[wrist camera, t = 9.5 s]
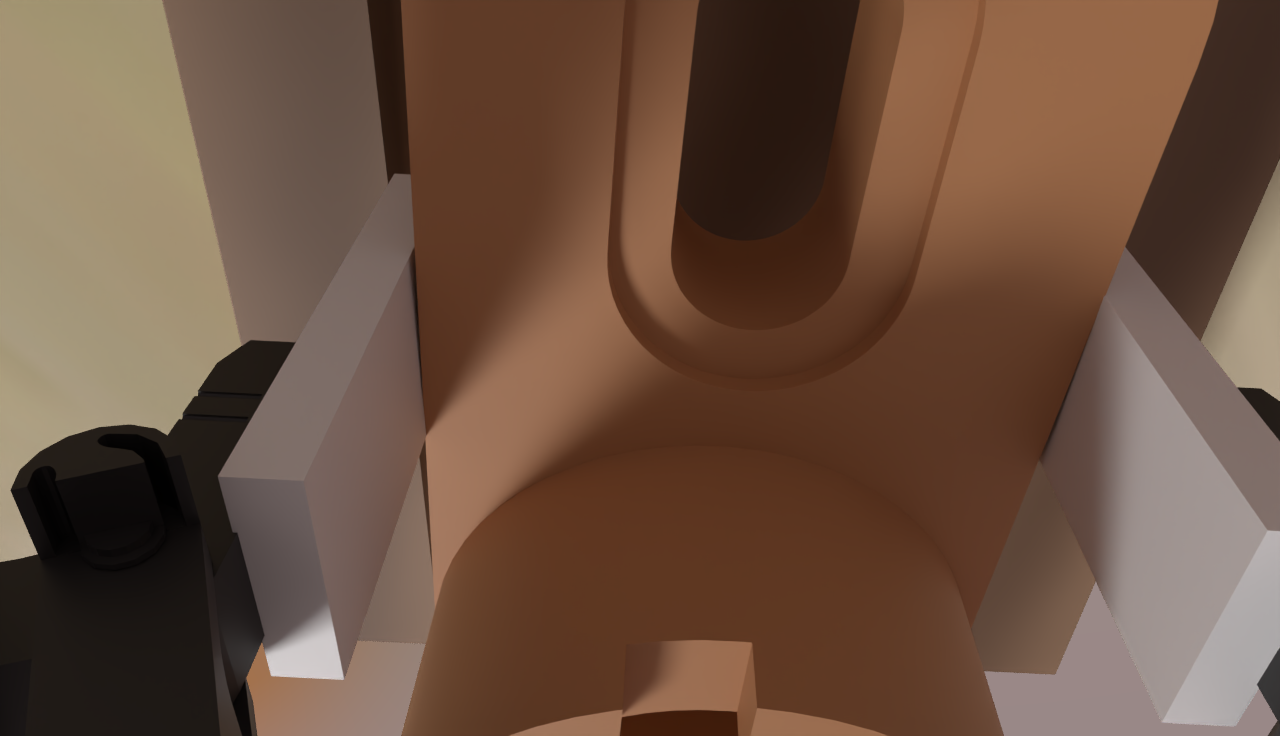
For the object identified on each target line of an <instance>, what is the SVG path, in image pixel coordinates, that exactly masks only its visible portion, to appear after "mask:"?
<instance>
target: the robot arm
mask: <svg viewBox="0 0 1280 736" xmlns="http://www.w3.org/2000/svg"><path fill="white" fill-rule="evenodd" d="M425 438H426V427H425V418H424V406H423V388H422V370H421V352H420V334H419V316H418V299H417V281H416V263H415V245H414V227H413V209H412V191H411V175H410V174H394V175H393V177H392V179H391V180H390V182H389V184H388V185H387V187H386V189H385V191H384V192H383V194H382V196H381V197H380V199H379V201H378V203H377V204H376V206H375V208H374V209H373V211H372V213H371V215H370V216H369V218H368V220H367V221H366V223H365V225H364V227H363V228H362V230H361V232H360V233H359V235H358V237H357V239H356V240H355V242H354V244H353V245H352V247H351V249H350V251H349V252H348V254H347V256H346V257H345V259H344V261H343V263H342V264H341V266H340V268H339V269H338V271H337V273H336V275H335V276H334V278H333V280H332V281H331V283H330V285H329V287H328V288H327V290H326V292H325V293H324V295H323V297H322V299H321V300H320V302H319V304H318V305H317V307H316V309H315V311H314V312H313V314H312V316H311V317H310V319H309V321H308V323H307V324H306V326H305V328H304V329H303V331H302V333H301V335H300V336H299V338H298V340H297V341H296V342H281V341H261V340H250V341H248V342H247V343H245V344H244V345H242V346H241V347H240V348H238V349H237V350H235V351H234V352H232V353H231V354H230V355H228V356H227V357H225V358H224V359H222V360H221V361H219V362H218V363H217V364H216V365H215V367H214V368H213V370H212V371H211V373H210V374H209V376H208V377H207V379H206V380H205V381H204V383H203V384H202V386H201V387H200V389H199V390H198V396H194V398H193V399H192V401H191V402H190V403H189V405H188V406H187V408H186V409H185V411H184V412H183V418H182V420H181V419H179V420H178V421H177V423H176V424H175V425H174V427H173V428H172V430H171V431H170V433H169V434H168V436H167V435H166V434H164V433H162V432H161V431H159V430H157V429H155V428H148V427H142V426H136V425H119V426H108V427H99V428H95V429H92V430H88V431H85V432H82V433H78V434H75V435H72V436H68V437H66V438H64V439H62V440H61V441H59V442H57V443H55V444H53V445H51V446H49V447H47V448H46V449H44V450H42V451H40V452H39V453H38V454H37V455H36V456H35V457H33V458H32V459H31V460H30V461H29V462H28V463H27V464H26V465H25V466H24V467H23V468H21V469H20V470H19V473H18V475H17V477H16V479H15V481H14V484H13V486H12V488H11V493H12V495H13V497H14V500H15V502H16V504H17V506H18V509H19V511H20V513H21V516H22V518H23V520H24V523H25V525H26V527H27V530H28V532H29V534H30V537H31V539H32V541H33V544H34V546H35V548H36V551H37V553H38V554H37V555H33V556H29V557H25V558H21V559H16V560H10V561H5V562H0V736H257V730H256V722H255V714H254V706H253V700H252V697H251V693H250V690H249V686H248V683H247V680H246V677H247V675H248V672H249V670H250V668H251V665H252V663H253V661H254V659H255V656H256V654H257V652H258V649H259V647H260V645H261V643H263V647H264V650H265V654H266V658H267V662H268V665H269V669H270V673H271V676H283V677H301V678H320V679H340V680H344V679H345V676H346V673H347V670H348V667H349V664H350V661H351V658H352V655H353V652H354V649H355V646H356V643H357V640H358V637H359V634H360V631H361V628H362V625H363V622H364V619H365V616H366V613H367V611H368V608H369V605H370V602H371V599H372V596H373V593H374V590H375V587H376V584H377V581H378V578H379V575H380V572H381V569H382V566H383V563H384V560H385V557H386V554H387V551H388V548H389V545H390V542H391V539H392V536H393V533H394V530H395V527H396V524H397V521H398V518H399V515H400V512H401V509H402V506H403V503H404V501H405V498H406V495H407V492H408V489H409V486H410V483H411V480H412V477H413V474H414V471H415V468H416V465H417V462H418V459H419V456H420V453H421V450H422V447H423V444H424V441H425ZM1039 460H1040V462H1041V464H1042V466H1043V469H1044V471H1045V473H1046V475H1047V477H1048V479H1049V481H1050V484H1051V486H1052V488H1053V490H1054V492H1055V494H1056V496H1057V499H1058V501H1059V503H1060V505H1061V507H1062V509H1063V511H1064V514H1065V516H1066V518H1067V520H1068V522H1069V524H1070V527H1071V529H1072V531H1073V533H1074V535H1075V537H1076V539H1077V542H1078V544H1079V546H1080V548H1081V550H1082V552H1083V554H1084V557H1085V559H1086V561H1087V563H1088V565H1089V567H1090V570H1091V572H1092V574H1093V576H1094V578H1095V580H1096V582H1097V585H1098V587H1099V589H1100V591H1101V593H1102V595H1103V597H1104V600H1105V601H1106V604H1107V606H1108V608H1109V610H1110V612H1111V615H1112V617H1113V619H1114V621H1115V623H1116V625H1117V628H1118V630H1119V632H1120V634H1121V636H1122V638H1123V640H1124V643H1125V645H1126V647H1127V649H1128V651H1129V653H1130V655H1131V658H1132V660H1133V662H1134V664H1135V666H1136V668H1137V670H1138V672H1139V675H1140V677H1141V679H1142V681H1143V683H1144V686H1145V688H1146V690H1147V692H1148V694H1149V696H1150V698H1151V701H1152V703H1153V705H1154V707H1155V709H1156V711H1157V713H1158V716H1159V718H1160V720H1161V722H1162V723H1180V724H1198V725H1217V726H1236V724H1237V723H1238V721H1239V719H1240V718H1241V716H1242V715H1243V713H1244V711H1245V710H1246V708H1247V707H1248V705H1249V703H1250V702H1251V700H1252V699H1253V697H1254V695H1255V694H1256V692H1257V691H1258V689H1260V691H1261V692H1262V694H1263V696H1264V698H1265V699H1266V701H1267V703H1268V704H1269V706H1270V708H1271V710H1272V712H1273V713H1274V715H1275V717H1276V718H1277V720H1278V721H1277V723H1276V724H1275V726H1274V727H1273V729H1272V730H1271V732H1270V733H1269V735H1268V736H1280V401H1278V400H1277V399H1276V398H1274V397H1273V396H1271V395H1270V394H1268V393H1267V392H1265V391H1264V390H1262V389H1258V388H1238V387H1236V386H1235V384H1234V383H1233V382H1232V381H1231V379H1230V378H1229V377H1228V376H1227V374H1226V373H1225V372H1224V371H1223V369H1222V368H1221V367H1220V366H1219V364H1218V363H1217V362H1216V361H1215V359H1214V358H1213V357H1212V356H1211V354H1210V353H1209V352H1208V350H1207V349H1206V348H1205V347H1204V345H1203V344H1202V343H1201V342H1200V340H1199V339H1198V338H1197V337H1196V335H1195V334H1194V333H1193V332H1192V330H1191V329H1190V328H1189V327H1188V325H1187V324H1186V323H1185V322H1184V320H1183V319H1182V318H1181V317H1180V315H1179V314H1178V313H1177V312H1176V310H1175V309H1174V308H1173V306H1172V305H1171V304H1170V303H1169V301H1168V300H1167V299H1166V298H1165V296H1164V295H1163V294H1162V293H1161V291H1160V290H1159V289H1158V288H1157V286H1156V285H1155V284H1154V283H1153V281H1152V280H1151V279H1150V278H1149V276H1148V275H1147V274H1146V273H1145V271H1144V270H1143V269H1142V268H1141V266H1140V265H1139V264H1138V262H1137V261H1136V260H1135V259H1134V257H1133V256H1132V255H1131V254H1130V252H1129V251H1128V250H1127V249H1126V247H1125V248H1124V251H1123V253H1122V256H1121V258H1120V261H1119V263H1118V266H1117V268H1116V271H1115V273H1114V276H1113V278H1112V281H1111V283H1110V286H1109V288H1108V290H1107V293H1106V295H1105V296H1104V297H1103V300H1102V303H1101V306H1100V309H1099V311H1098V314H1097V317H1096V320H1095V323H1094V325H1093V328H1092V330H1091V333H1090V335H1089V338H1088V340H1087V343H1086V345H1085V347H1084V350H1083V352H1082V355H1081V357H1080V360H1079V362H1078V365H1077V367H1076V370H1075V372H1074V375H1073V377H1072V380H1071V382H1070V385H1069V387H1068V390H1067V392H1066V395H1065V397H1064V400H1063V402H1062V404H1061V407H1060V409H1059V412H1058V414H1057V417H1056V419H1055V422H1054V424H1053V427H1052V429H1051V432H1050V434H1049V437H1048V439H1047V442H1046V444H1045V447H1044V449H1043V452H1042V454H1041V456H1040V459H1039Z"/></svg>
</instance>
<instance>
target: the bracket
mask: <svg viewBox="0 0 1280 736" xmlns="http://www.w3.org/2000/svg"><path fill="white" fill-rule="evenodd" d="M698 4H699V0H401V12H402V30H403V48H404V66H405V84H406V102H407V120H408V137H409V155H410V173H411V191H412V209H413V227H414V245H415V263H416V281H417V299H418V316H419V334H420V352H421V370H422V388H423V406H424V418H425V427H426V438H425V442H426V460H427V477H428V495H429V513H430V531H431V549H432V567H433V585H434V603H435V611H434V615H433V619H432V622H431V626H430V630H429V634H428V638H427V641H426V645H425V649H424V653H423V656H422V660H421V664H420V668H419V671H418V675H417V679H416V683H415V686H414V690H413V694H412V698H411V701H410V705H409V709H408V713H407V716H406V720H405V724H404V728H403V731H402V735H401V736H1004V734H1003V731H1002V728H1001V725H1000V722H999V718H998V715H997V712H996V708H995V705H994V702H993V699H992V696H991V693H990V689H989V686H988V683H987V679H986V676H985V673H984V670H983V666H982V663H981V660H980V657H979V653H978V650H977V647H976V644H975V641H974V637H973V634H972V631H971V627H972V625H973V623H974V620H975V618H976V615H977V613H978V610H979V608H980V605H981V603H982V600H983V598H984V595H985V593H986V590H987V588H988V585H989V583H990V580H991V578H992V575H993V573H994V570H995V568H996V566H997V563H998V561H999V558H1000V556H1001V553H1002V551H1003V548H1004V546H1005V543H1006V541H1007V538H1008V536H1009V533H1010V531H1011V528H1012V526H1013V523H1014V521H1015V518H1016V516H1017V513H1018V511H1019V509H1020V506H1021V504H1022V501H1023V499H1024V496H1025V494H1026V491H1027V489H1028V486H1029V484H1030V481H1031V479H1032V476H1033V474H1034V471H1035V469H1036V466H1037V464H1038V461H1039V459H1040V456H1041V454H1042V452H1043V449H1044V447H1045V444H1046V442H1047V439H1048V437H1049V434H1050V432H1051V429H1052V427H1053V424H1054V422H1055V419H1056V417H1057V414H1058V412H1059V409H1060V407H1061V404H1062V402H1063V400H1064V397H1065V395H1066V392H1067V390H1068V387H1069V385H1070V382H1071V380H1072V377H1073V375H1074V372H1075V370H1076V367H1077V365H1078V362H1079V360H1080V357H1081V355H1082V352H1083V350H1084V347H1085V345H1086V343H1087V340H1088V338H1089V335H1090V333H1091V330H1092V328H1093V325H1094V323H1095V320H1096V317H1097V314H1098V311H1099V309H1100V306H1101V303H1102V300H1103V297H1104V296H1105V295H1106V293H1107V290H1108V288H1109V286H1110V283H1111V281H1112V278H1113V276H1114V273H1115V271H1116V268H1117V266H1118V263H1119V261H1120V258H1121V256H1122V253H1123V251H1124V248H1125V246H1126V243H1127V241H1128V238H1129V236H1130V233H1131V231H1132V229H1133V226H1134V224H1135V221H1136V219H1137V216H1138V214H1139V211H1140V209H1141V206H1142V204H1143V201H1144V199H1145V196H1146V194H1147V191H1148V189H1149V186H1150V184H1151V181H1152V179H1153V176H1154V174H1155V172H1156V169H1157V167H1158V164H1159V162H1160V159H1161V157H1162V154H1163V152H1164V149H1165V147H1166V144H1167V142H1168V139H1169V137H1170V134H1171V132H1172V129H1173V127H1174V124H1175V122H1176V119H1177V117H1178V115H1179V112H1180V110H1181V107H1182V105H1183V102H1184V100H1185V97H1186V95H1187V92H1188V90H1189V87H1190V85H1191V82H1192V80H1193V77H1194V75H1195V72H1196V70H1197V67H1198V65H1199V62H1200V59H1201V56H1202V53H1203V50H1204V47H1205V45H1206V42H1207V39H1208V36H1209V33H1210V30H1211V27H1212V24H1213V21H1214V17H1215V13H1216V9H1217V4H1218V0H860V4H859V9H858V14H857V19H856V24H855V29H854V34H853V39H852V44H851V49H850V54H849V59H848V64H847V69H846V74H845V79H844V84H843V89H842V94H841V99H840V104H839V109H838V114H837V119H836V124H835V129H834V134H833V139H832V144H831V149H830V154H829V159H828V164H827V169H826V174H825V179H824V183H823V187H822V189H821V192H820V194H819V196H818V198H817V200H816V202H815V203H814V205H813V206H812V208H811V209H810V210H809V212H808V213H807V214H806V215H805V216H804V217H803V218H802V219H801V220H800V221H798V222H797V223H796V224H795V225H793V226H792V227H790V228H789V229H787V230H785V231H783V232H781V233H779V234H777V235H774V236H771V237H768V238H764V239H759V240H751V241H740V240H732V239H727V238H723V237H720V236H717V235H715V234H712V233H710V232H708V231H706V230H705V229H703V228H702V227H700V226H699V225H698V224H696V223H695V222H694V221H693V220H692V219H691V218H690V217H689V216H688V215H687V213H686V212H685V211H684V209H683V208H682V206H681V204H680V203H679V200H678V198H677V190H678V181H679V172H680V162H681V153H682V144H683V135H684V126H685V117H686V108H687V99H688V90H689V81H690V72H691V62H692V53H693V44H694V35H695V26H696V17H697V10H698Z"/></svg>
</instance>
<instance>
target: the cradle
mask: <svg viewBox="0 0 1280 736" xmlns="http://www.w3.org/2000/svg"><path fill="white" fill-rule="evenodd" d="M162 1H163V5H164V10H165V14H166V18H167V23H168V27H169V31H170V36H171V40H172V44H173V49H174V53H175V58H176V62H177V66H178V71H179V75H180V79H181V84H182V88H183V92H184V97H185V101H186V106H187V110H188V114H189V119H190V123H191V127H192V132H193V136H194V140H195V145H196V149H197V154H198V158H199V162H200V167H201V171H202V175H203V180H204V184H205V188H206V193H207V197H208V201H209V206H210V210H211V215H212V219H213V223H214V228H215V232H216V236H217V241H218V245H219V249H220V254H221V258H222V263H223V267H224V271H225V276H226V280H227V284H228V289H229V293H230V297H231V302H232V306H233V311H234V315H235V319H236V324H237V328H238V332H239V337H240V341H241V345H244V344H245V343H247V342H248V341H250V340H261V341H281V342H296V341H297V340H298V338H299V336H300V335H301V333H302V331H303V329H304V328H305V326H306V324H307V323H308V321H309V319H310V317H311V316H312V314H313V312H314V311H315V309H316V307H317V305H318V304H319V302H320V300H321V299H322V297H323V295H324V293H325V292H326V290H327V288H328V287H329V285H330V283H331V281H332V280H333V278H334V276H335V275H336V273H337V271H338V269H339V268H340V266H341V264H342V263H343V261H344V259H345V257H346V256H347V254H348V252H349V251H350V249H351V247H352V245H353V244H354V242H355V240H356V239H357V237H358V235H359V233H360V232H361V230H362V228H363V227H364V225H365V223H366V221H367V220H368V218H369V216H370V215H371V213H372V211H373V209H374V208H375V206H376V204H377V203H378V201H379V199H380V197H381V196H382V194H383V192H384V191H385V189H386V187H387V185H388V184H389V182H390V180H391V179H392V177H393V175H394V174H410V175H411V173H410V155H409V137H408V120H407V102H406V84H405V66H404V48H403V30H402V12H401V0H162ZM859 4H860V0H699V4H698V10H697V17H696V26H695V35H694V44H693V53H692V62H691V72H690V81H689V90H688V99H687V108H686V117H685V126H684V135H683V144H682V153H681V162H680V172H679V181H678V190H677V198H678V200H679V203H680V204H681V206H682V208H683V209H684V211H685V212H686V213H687V215H688V216H689V217H690V218H691V219H692V220H693V221H694V222H695V223H696V224H698V225H699V226H700V227H702V228H703V229H705V230H706V231H708V232H710V233H712V234H715V235H717V236H720V237H723V238H727V239H732V240H740V241H751V240H759V239H764V238H768V237H771V236H774V235H777V234H779V233H781V232H783V231H785V230H787V229H789V228H790V227H792V226H793V225H795V224H796V223H797V222H798V221H800V220H801V219H802V218H803V217H804V216H805V215H806V214H807V213H808V212H809V210H810V209H811V208H812V206H813V205H814V203H815V202H816V200H817V198H818V196H819V194H820V192H821V189H822V187H823V183H824V179H825V174H826V169H827V164H828V159H829V154H830V149H831V144H832V139H833V134H834V129H835V124H836V119H837V114H838V109H839V104H840V99H841V94H842V89H843V84H844V79H845V74H846V69H847V64H848V59H849V54H850V49H851V44H852V39H853V34H854V29H855V24H856V19H857V14H858V9H859ZM1279 159H1280V0H1218V4H1217V9H1216V13H1215V17H1214V21H1213V24H1212V27H1211V30H1210V33H1209V36H1208V39H1207V42H1206V45H1205V47H1204V50H1203V53H1202V56H1201V59H1200V62H1199V65H1198V67H1197V70H1196V72H1195V75H1194V77H1193V80H1192V82H1191V85H1190V87H1189V90H1188V92H1187V95H1186V97H1185V100H1184V102H1183V105H1182V107H1181V110H1180V112H1179V115H1178V117H1177V119H1176V122H1175V124H1174V127H1173V129H1172V132H1171V134H1170V137H1169V139H1168V142H1167V144H1166V147H1165V149H1164V152H1163V154H1162V157H1161V159H1160V162H1159V164H1158V167H1157V169H1156V172H1155V174H1154V176H1153V179H1152V181H1151V184H1150V186H1149V189H1148V191H1147V194H1146V196H1145V199H1144V201H1143V204H1142V206H1141V209H1140V211H1139V214H1138V216H1137V219H1136V221H1135V224H1134V226H1133V229H1132V231H1131V233H1130V236H1129V238H1128V241H1127V243H1126V246H1125V247H1126V249H1127V250H1128V251H1129V252H1130V254H1131V255H1132V256H1133V257H1134V259H1135V260H1136V261H1137V262H1138V264H1139V265H1140V266H1141V268H1142V269H1143V270H1144V271H1145V273H1146V274H1147V275H1148V276H1149V278H1150V279H1151V280H1152V281H1153V283H1154V284H1155V285H1156V286H1157V288H1158V289H1159V290H1160V291H1161V293H1162V294H1163V295H1164V296H1165V298H1166V299H1167V300H1168V301H1169V303H1170V304H1171V305H1172V306H1173V308H1174V309H1175V310H1176V312H1177V313H1178V314H1179V315H1180V317H1181V318H1182V319H1183V320H1184V322H1185V323H1186V324H1187V325H1188V327H1189V328H1190V329H1191V330H1192V332H1193V333H1194V334H1195V335H1196V337H1197V338H1198V339H1199V340H1201V338H1202V336H1203V333H1204V331H1205V329H1206V327H1207V324H1208V322H1209V320H1210V317H1211V315H1212V313H1213V311H1214V308H1215V306H1216V304H1217V301H1218V299H1219V297H1220V294H1221V292H1222V290H1223V288H1224V285H1225V283H1226V281H1227V278H1228V276H1229V274H1230V271H1231V269H1232V267H1233V265H1234V262H1235V260H1236V258H1237V255H1238V253H1239V251H1240V248H1241V246H1242V244H1243V242H1244V239H1245V237H1246V235H1247V232H1248V230H1249V228H1250V225H1251V223H1252V221H1253V219H1254V216H1255V214H1256V212H1257V209H1258V207H1259V205H1260V203H1261V200H1262V198H1263V196H1264V193H1265V191H1266V189H1267V186H1268V184H1269V182H1270V180H1271V177H1272V175H1273V173H1274V170H1275V168H1276V166H1277V163H1278V161H1279ZM1095 582H1096V580H1095V578H1094V576H1093V574H1092V572H1091V570H1090V567H1089V565H1088V563H1087V561H1086V559H1085V557H1084V554H1083V552H1082V550H1081V548H1080V546H1079V544H1078V542H1077V539H1076V537H1075V535H1074V533H1073V531H1072V529H1071V527H1070V524H1069V522H1068V520H1067V518H1066V516H1065V514H1064V511H1063V509H1062V507H1061V505H1060V503H1059V501H1058V499H1057V496H1056V494H1055V492H1054V490H1053V488H1052V486H1051V484H1050V481H1049V479H1048V477H1047V475H1046V473H1045V471H1044V469H1043V466H1042V464H1041V462H1040V460H1039V461H1038V464H1037V466H1036V469H1035V471H1034V474H1033V476H1032V479H1031V481H1030V484H1029V486H1028V489H1027V491H1026V494H1025V496H1024V499H1023V501H1022V504H1021V506H1020V509H1019V511H1018V513H1017V516H1016V518H1015V521H1014V523H1013V526H1012V528H1011V531H1010V533H1009V536H1008V538H1007V541H1006V543H1005V546H1004V548H1003V551H1002V553H1001V556H1000V558H999V561H998V563H997V566H996V568H995V570H994V573H993V575H992V578H991V580H990V583H989V585H988V588H987V590H986V593H985V595H984V598H983V600H982V603H981V605H980V608H979V610H978V613H977V615H976V618H975V620H974V623H973V625H972V627H971V631H972V634H973V637H974V641H975V644H976V647H977V650H978V653H979V657H980V660H981V663H982V666H983V670H984V671H994V672H1014V673H1015V672H1016V673H1035V674H1056V671H1057V669H1058V667H1059V664H1060V662H1061V660H1062V658H1063V655H1064V653H1065V651H1066V648H1067V646H1068V644H1069V641H1070V639H1071V637H1072V635H1073V632H1074V630H1075V628H1076V625H1077V623H1078V621H1079V618H1080V616H1081V614H1082V612H1083V609H1084V607H1085V605H1086V602H1087V600H1088V598H1089V595H1090V593H1091V591H1092V589H1093V586H1094V584H1095ZM434 611H435V603H434V585H433V567H432V549H431V531H430V513H429V495H428V477H427V460H426V442H425V441H424V444H423V447H422V450H421V453H420V456H419V459H418V462H417V465H416V468H415V471H414V474H413V477H412V480H411V483H410V486H409V489H408V492H407V495H406V498H405V501H404V503H403V506H402V509H401V512H400V515H399V518H398V521H397V524H396V527H395V530H394V533H393V536H392V539H391V542H390V545H389V548H388V551H387V554H386V557H385V560H384V563H383V566H382V569H381V572H380V575H379V578H378V581H377V584H376V587H375V590H374V593H373V596H372V599H371V602H370V605H369V608H368V611H367V613H366V616H365V619H364V622H363V625H362V628H361V631H360V634H359V637H358V640H359V641H379V642H400V643H420V644H421V643H422V644H426V641H427V638H428V634H429V630H430V626H431V622H432V619H433V615H434Z"/></svg>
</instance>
